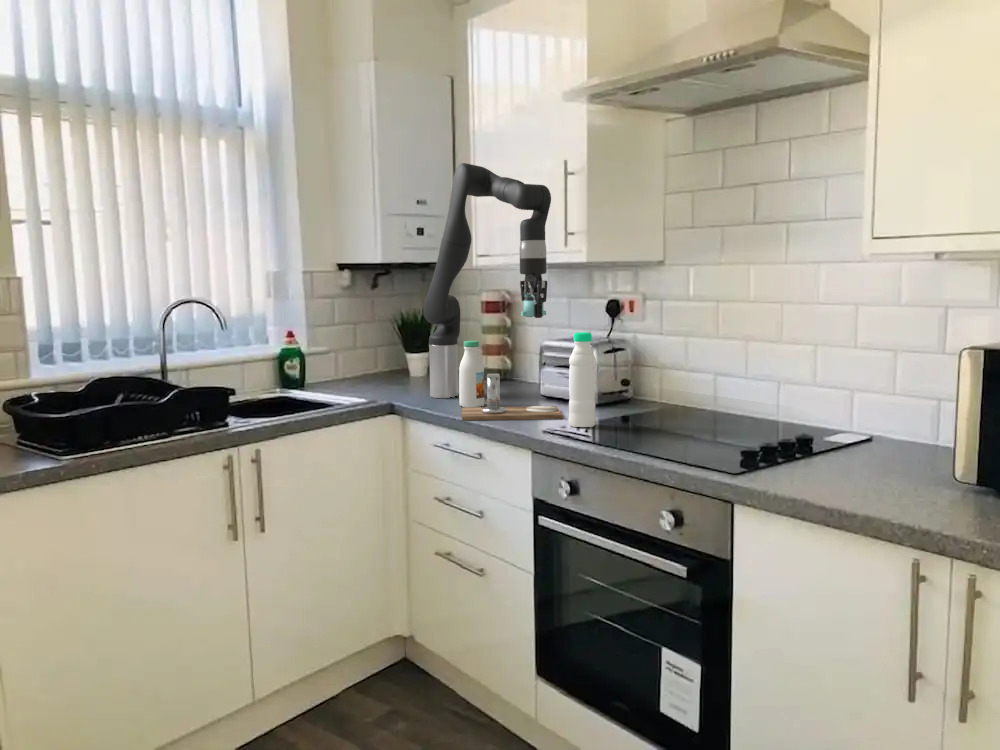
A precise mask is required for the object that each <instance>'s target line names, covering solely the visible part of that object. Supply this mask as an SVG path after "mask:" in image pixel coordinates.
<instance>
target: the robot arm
mask: <svg viewBox="0 0 1000 750" xmlns="http://www.w3.org/2000/svg"><path fill="white" fill-rule="evenodd" d="M550 191H551V190H550V189H549V188H548V186H546V185H544V184H531V183H524V182H523V181H521V180H519V179H515V178H511V177H506V176H500V175H498V174H496V173H494V172H493V171H491V170H490V169H487V168H486V167H485V166H480V165H476V164H475V165H474V164H472V163H466V162H465V163H460V164H459V165H458V166H457V168H456V169H455V172H454V175H453V179H452V186H451V193H450V200H449V206H448V212H447V218H446V221H445V226H444V230H443V234H442V237H441V242H440V245H439V250H438V255H437V259H436V265H435V268H434V272H433V276H432V279H431V282H430V286H429V289H428V291H427V295H426V297H425V300H424V305H423V315H424V318H425V320H426V321H427V322H428V324H429V323H430V324H432V325H436V329H435V331H434V332H433V333H432V334H430V336H429V338H428V347H429V348H428V349H429V350H428V351H429V352H428V353H429V355H428V356H429V396H430V398H434V399H435V398H436V399H450V397H452V398H456V397H455V396H457V397H459V367H458V366H459V364H458V363H459V362H458V340H459V336H460V334H461V333H460V332H461V330H460V329H461V307H460V302H459V300H458V299H457V298H456V296H453V295H452V294H449V293H450V290H451V287H452V285H453V282H454V281H455V279H456V277H457V276H458V274H459V273H460V272H461V270H462V269H463V267H464V266H465V264H466V262H467V260H468V257H469V254H470V248H471V244H472V240H473V239H472V233H471V230H470V227H469V224H468V223H469V222H468V220H467V216H466V202H467V197H468V196H470V197H471V196H472V197H477V198H478V197H482V198H483V197H495V199H497V200H498V201H500V202H503V203H505V204H509V205H511V206H513V207H514V208H515V209H519V210H523V211H532V214H531V217H530V218H526V219H523V220H522V221H521V222H520V224H519V231H520V232H519V235H520V236H519V237H520V240H519V274H520V275H525V276H524V280H520V281H519V287H520V296H521V297H520V298H521V302H524V301H525V297H533V300H534V304H536V305H534V318H535V319H541V318H543V316H542V304H543V305H544V303H546V302H547V298H548V297H547V295H548V294H547V293H548V281H547V280H543V276H542V275H546V273H547V270H548V269H547V245H546V244H547V243H546V224H547V221H548V220H547V219H548V215H549V211H550V208H551V203H552V195H551V192H550ZM536 297H537V298H536Z"/></svg>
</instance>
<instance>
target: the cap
mask: <svg viewBox="0 0 1000 750" xmlns="http://www.w3.org/2000/svg"><path fill="white" fill-rule="evenodd" d="M524 297H525V296H524ZM536 298H537V297H536ZM534 305H536V304H534V300H533V297H525V301H523V311H522V310H521V311H520V316H521V317H526V318H533V317H534ZM546 315H547V310H544V303H543V304H542V317H544V316H546ZM534 318H535V317H534Z"/></svg>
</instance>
